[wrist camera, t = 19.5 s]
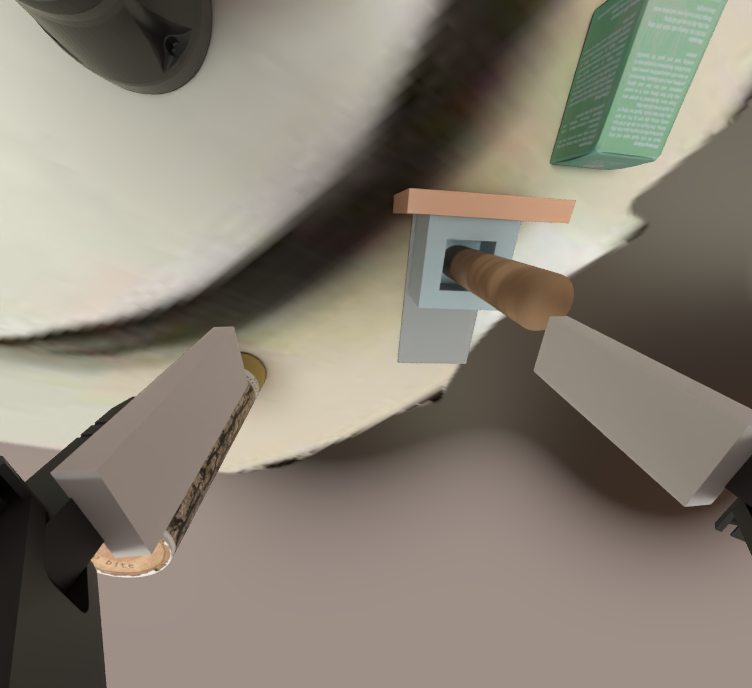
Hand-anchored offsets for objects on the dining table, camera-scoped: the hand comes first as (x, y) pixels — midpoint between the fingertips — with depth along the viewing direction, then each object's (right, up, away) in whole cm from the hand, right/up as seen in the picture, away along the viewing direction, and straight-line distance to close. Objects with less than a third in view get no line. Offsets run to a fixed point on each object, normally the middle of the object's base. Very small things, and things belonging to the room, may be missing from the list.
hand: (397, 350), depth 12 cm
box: (+24, +28, +20) cm, 42 cm away
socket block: (+9, +12, +26) cm, 30 cm away
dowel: (+9, +11, +23) cm, 27 cm away
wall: (+9, +17, +23) cm, 30 cm away
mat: (+9, +8, +27) cm, 30 cm away
